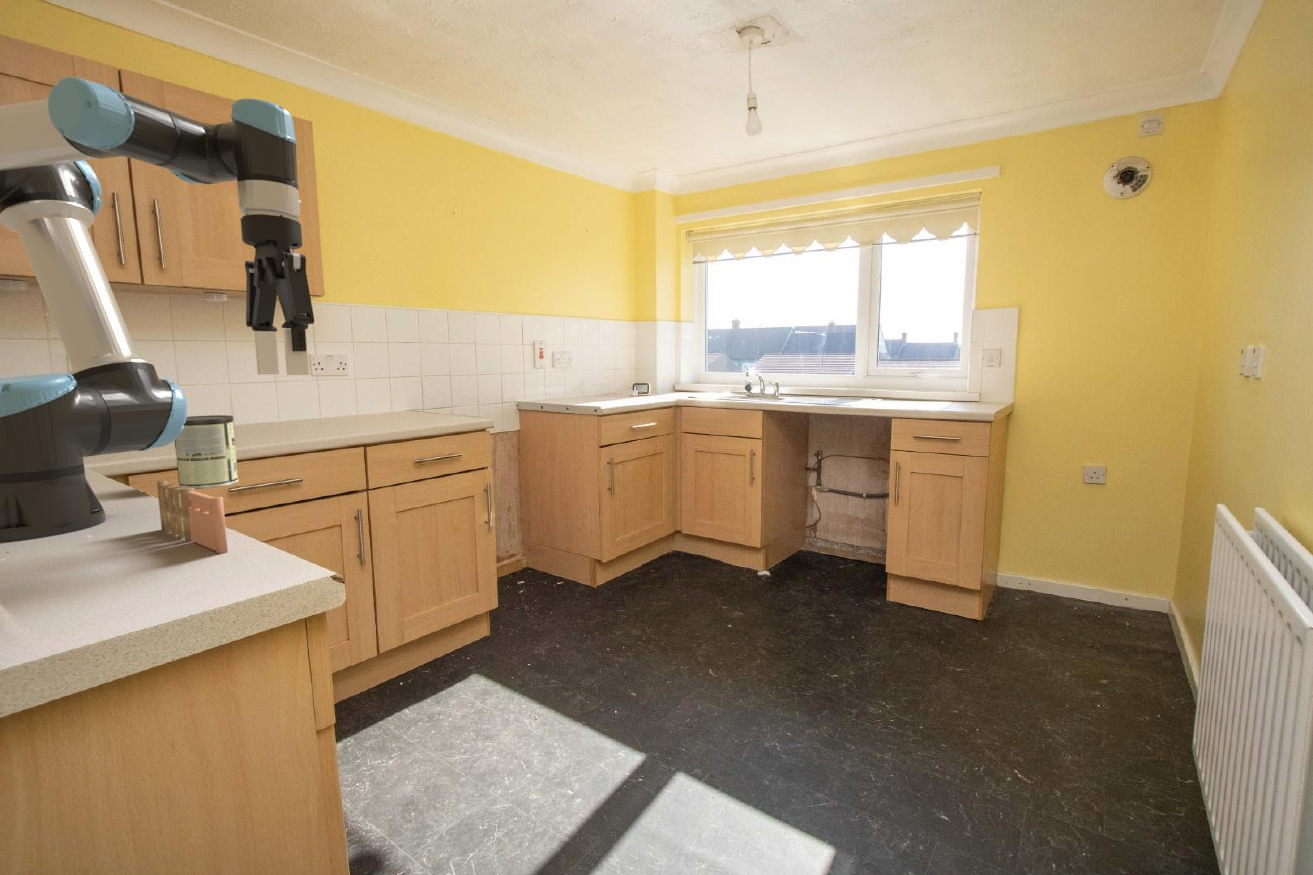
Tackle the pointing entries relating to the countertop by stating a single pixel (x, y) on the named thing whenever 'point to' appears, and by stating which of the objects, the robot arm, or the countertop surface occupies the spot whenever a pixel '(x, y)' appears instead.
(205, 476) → the coffee can
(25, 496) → the robot arm
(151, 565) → the countertop surface
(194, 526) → the fence gate
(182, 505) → the fence anchor
